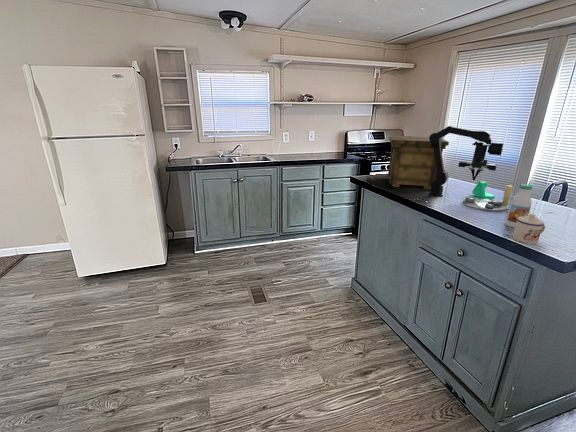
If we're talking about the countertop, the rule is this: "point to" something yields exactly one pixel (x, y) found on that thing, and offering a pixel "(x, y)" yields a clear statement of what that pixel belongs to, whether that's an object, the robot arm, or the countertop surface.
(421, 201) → the countertop surface
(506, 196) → the tan post with disc
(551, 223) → the countertop surface
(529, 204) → the milk bottle
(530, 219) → the teacup with lid
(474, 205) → the plate
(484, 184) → the camera mount
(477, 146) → the robot arm
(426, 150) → the crate
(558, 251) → the countertop surface
